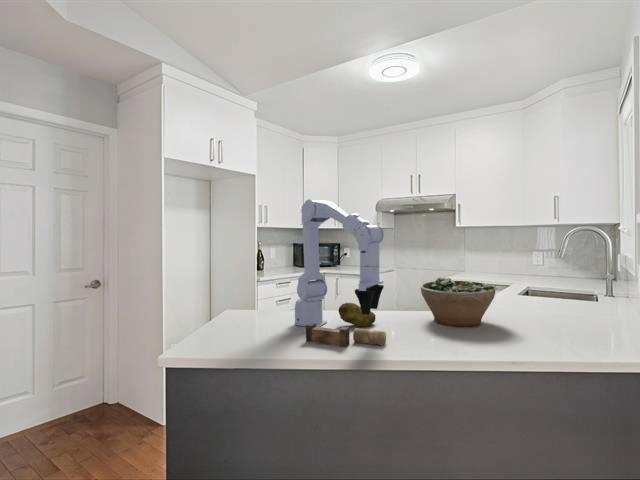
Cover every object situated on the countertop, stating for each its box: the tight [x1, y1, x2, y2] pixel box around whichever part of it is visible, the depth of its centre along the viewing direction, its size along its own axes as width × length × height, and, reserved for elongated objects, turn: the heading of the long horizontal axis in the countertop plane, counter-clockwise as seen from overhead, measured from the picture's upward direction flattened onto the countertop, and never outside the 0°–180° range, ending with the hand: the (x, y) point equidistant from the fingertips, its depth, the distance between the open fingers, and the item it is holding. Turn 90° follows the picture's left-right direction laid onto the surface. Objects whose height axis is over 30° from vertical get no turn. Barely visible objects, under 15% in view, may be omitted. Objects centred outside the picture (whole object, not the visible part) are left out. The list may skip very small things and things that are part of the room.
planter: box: [420, 277, 499, 329], centre depth 134 cm, size 26×25×15 cm
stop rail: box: [305, 323, 350, 348], centre depth 111 cm, size 13×3×5 cm, turn 65°
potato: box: [338, 302, 376, 327], centre depth 131 cm, size 8×13×8 cm, turn 82°
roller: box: [352, 327, 387, 346], centre depth 111 cm, size 9×4×4 cm, turn 65°
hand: (369, 311), depth 111 cm, fingers open, 7 cm apart
